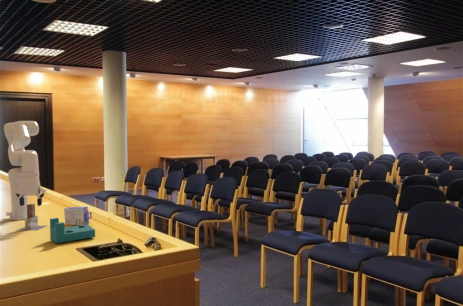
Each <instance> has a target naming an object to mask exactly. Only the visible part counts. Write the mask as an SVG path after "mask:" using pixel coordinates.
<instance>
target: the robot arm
mask: <svg viewBox="0 0 463 306" xmlns="http://www.w3.org/2000/svg"><path fill="white" fill-rule="evenodd" d="M3 131H4V135H5V136H4V137H5V138H6V140H7V143H8V149H7V155H8V160H9V162H10V164H11V166H14V167H15V166H16V167H15V168H11V169H10V170H8V173H7V175H8V176H7V177H8V181H9V187H10V205H11V211H8V212H6V213H5V216H7V217H8V216H9V217H8V219H9V220H11V221H20V220H25V218H27V205H28V204H29V196H31V197H32V196H36V198H37V199H36V200H37V201H36V202H37V203H36V204H37V207H40V206H42V204H43V199H42V198H43V197H44V196H45V194H46V193H47V189H45V188H43V187H41V181H40V169H39V168H40V167H39V156H38V155H39V154H38V153H37V151H36V150H33V149H27V150H25V149H26V148H25V147H27V146H28V145H30V144H31V142H32V141H31V137H34V136H37V135H38V134H39V132H40V127H39V124H38V123H37V121H34V120H17V121H14V122H13V121H12V122H7V123H5V124H4V125H3Z"/></svg>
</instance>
